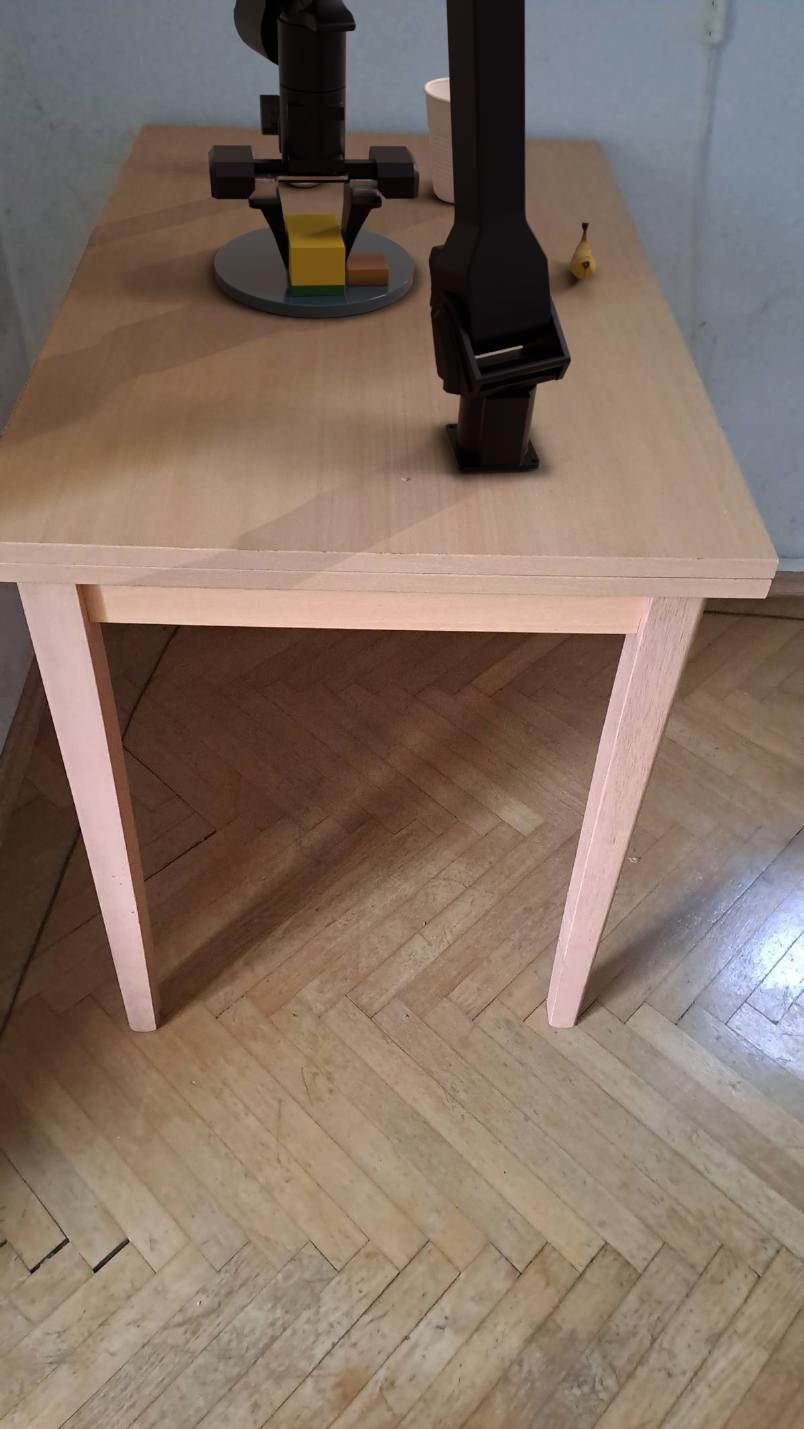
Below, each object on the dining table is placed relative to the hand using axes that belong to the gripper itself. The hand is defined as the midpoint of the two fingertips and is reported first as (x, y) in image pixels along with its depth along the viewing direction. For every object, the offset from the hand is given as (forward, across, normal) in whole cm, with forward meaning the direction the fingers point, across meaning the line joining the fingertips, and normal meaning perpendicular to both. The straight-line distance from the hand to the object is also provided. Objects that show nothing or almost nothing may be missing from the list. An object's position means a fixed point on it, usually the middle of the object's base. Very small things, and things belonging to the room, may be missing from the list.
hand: (314, 267), depth 96 cm
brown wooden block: (+1, -5, 0) cm, 5 cm away
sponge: (+1, 0, 0) cm, 1 cm away
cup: (+2, -20, -25) cm, 32 cm away
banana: (+2, -28, -1) cm, 28 cm away
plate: (+2, 0, -4) cm, 4 cm away
